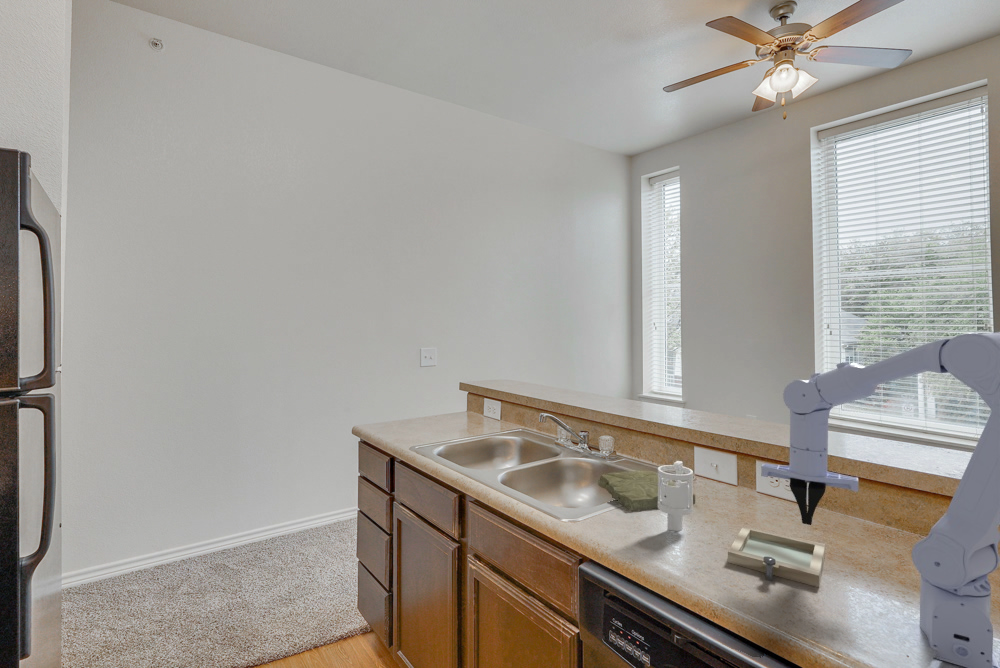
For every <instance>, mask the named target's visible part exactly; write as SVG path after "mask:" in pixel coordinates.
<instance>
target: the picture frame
mask: <svg viewBox="0 0 1000 668" xmlns="http://www.w3.org/2000/svg"><path fill="white" fill-rule="evenodd" d="M764 557H772V558H774V559H775V560H776V564H775V565H773V576H775V577H779V578H784V579H786V580H790V581H793V582H798V583H801V584H806V585H808V586H812V587H816V588H820V585H821V584H820V582H821V580H822V579H821V578H822V573H823V569H824V563H825V557H826V543H822V542H817V541H813V540H808V539H804V538H800V537H796V536H792V535H791V536H790V535H788V534H787V535H786V534H783V533H778V532H774V531H770V530H765V529H762V528H761V529H760V528H756V527H753V526H748V525H743V526H742V527H741V529H740V531H739V532H738V534H737V536H736V537H735V539H734V541H733V543H732V544H731V546H730V547H729V549H728V550H727V563H729V564H733V565H736V566H739V567H743V568H747V569H750V570H754V571H757V572H762V573H765V574H766V563H764V561H763V560H764Z"/></svg>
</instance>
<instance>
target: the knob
mask: <svg viewBox="0 0 1000 668" xmlns="http://www.w3.org/2000/svg"><path fill="white" fill-rule="evenodd" d="M763 561H764V563H766V573H765V580H766V581H768V582H773V578H774V577H773V576H774V575H773V565H775V564H776V560H775V559H774V558H772V557H764V560H763Z"/></svg>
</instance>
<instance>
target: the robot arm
mask: <svg viewBox="0 0 1000 668" xmlns="http://www.w3.org/2000/svg"><path fill="white" fill-rule="evenodd" d="M835 366H836V369H832V370H829V371H827V372H824V373H820V372H815V373H812V374H811V375H810V378H809V379H805V380H804V379H794V380H793V381H792V382H790V383H788V384H787V385H786V386H785V388H784V390H783V393H782V394H783V395H782V396H783V402H784V405H786V407H787V408H788V409H789V410H790V412H789V413H790V414H789V463H788V464H789V465H784V464H783V465H782V464H771V463H762V465H761V473H760V474H761V477H766V478H768V477H772V478H777V479H784V480H789V488H790V491H791V493H792V495H793V496H794V499H795V500H796V503H797V505H798V508H799V513H800V517H801V523H802V524H804V525H809V526H812V525H813V517H814V515H815V511H816V508H817V506H818V505H819V503H820V501H821V499H822V497H823V496H824V494H825V493H826V490H827V489H826V487H832V488H839V489H843V490H844V489H845V490H850V492H856V493H859V482H860V481H859V477H856V476H849V475H844V474H841V473H836V472H831V471H828V454H829V450H828V447H829V446H828V445H829V419H830V413H831V412H830V411H831V410H832V409H833V408H835V407H838V406H841V405H844V404H848V403H851V402H855V401H858V400H861V399H865V398H868V397H871V396H873V395H874V393H875V392H876V389H877V387H878V386H879V385H882V384H886V383H889V382H894V381H897V380H901V379H903V378H904V379H905V378H908V377H911V376H916V375H918V374H922V373H926V372H933V373H937V374H947V373H949V374H950V375H952V376H953V377H954V378H955V379H957V380H958V381H960V382H961V383H963V384H964V385H966V387H968V388H970V389H972V390H973V391H974V392H976V393H977V394H978V396H979V397H980V398H981V399H982V400H983V402H984V403H985V404H986V405H987V406H988V408H989V409H990V414H989V417H988V418H987V421H986V424H985V426H984V428H983V430H982V432H981V435H980V437H979V438H978V441H977V444H976V446H975V447H974V450H973V452H972V455H971V457H970V459H969V461H968V463H967V465H966V468H965V470H964V472H963V474H962V477H961V478H960V481H959V483H958V484H957V488H956V490H955V492H954V494H953V497H952V498H951V500H950V503H949V506H948V507H947V509H946V512H945V513H944V514H943V515H942V516H941V517H940V518H939V520H938V521H936V522H935V524H934V525H933V526H932V527H931V529H930V531H929V533H928V534H927V536H926V537H925V538H923V539H920V540H919V541H917V542H916V543H914V545H913V547H912V549H911V559H912V560H911V561H912V563H913V565H914V567H915V568H916V570H917V572H918V573H919V574H920V583H919V584H920V589H919V590H920V594H919V596H920V597H919V627H920V630H921V631H922V632H923V633H924V634H925V636H926V637H927V639H928V643H929V646H930V648H931V650H934V651H936V653H935V654H934V656H933V659H937V660H940V661H943V662H947V663H951V664H952V665H953V664H954V665H957V666H960V667H964V668H1000V664H999V662H998V660H997V657H996V656H995V653H994V627H993V623H992V621H991V605H992V604H991V603H992V593H991V592H992V586H991V582H990V581H989V574H992V573H993V572H996V570H997V569H998V567H999V566H1000V553H999V548H998V547H999V543H1000V531H999V527H1000V331H997V332H990V333H976V332H966V333H962V334H958V335H957V336H954V337H952V338H943V339H939V340H935V341H931V342H927V343H925V344H921V345H919V346H915V347H914V348H911V349H908V350H906V351H904V352H900V353H898V354H895V355H893V356H891V357H888V358H885V359H883V360H880V361H877V362H875V363H873V364H869V365H867V366H866V365H863V364H860V363H858V362H851V363H850V362H849V361H842V362H840V363H837V364H836V365H835Z"/></svg>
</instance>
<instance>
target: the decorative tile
mask: <svg viewBox="0 0 1000 668" xmlns="http://www.w3.org/2000/svg"><path fill="white" fill-rule="evenodd" d="M597 484H598V486H599V487H601V488H602V489H605V490H606V491H607V492H608V494H610V495H611V498H613V500H614V501H616V500H618V501H616V502H617V503H620V505H622V506H624V507H625V508H626V509H628V510H629V511H630V512H636V511H644V510H653V509H658V472H655V471H653V470H629V471H619V472H609V473H606V474H602V475H600V478H599V479H598V481H597ZM668 485H670V486H675V481H668ZM694 504H696V494H695V493H693V505H694Z"/></svg>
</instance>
